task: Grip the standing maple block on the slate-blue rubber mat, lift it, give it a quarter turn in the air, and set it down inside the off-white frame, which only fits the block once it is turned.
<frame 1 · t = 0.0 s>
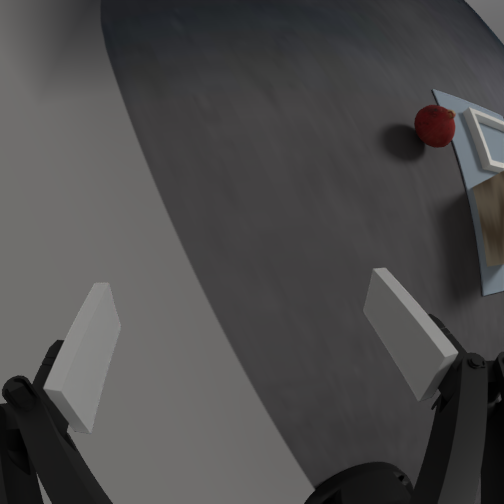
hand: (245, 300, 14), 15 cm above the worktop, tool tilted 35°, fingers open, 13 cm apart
frame: (496, 147, 38), resting on mat
block: (489, 226, 34), resting on mat
onion: (420, 139, 36), on the worktop
mat: (500, 186, 36), on the worktop
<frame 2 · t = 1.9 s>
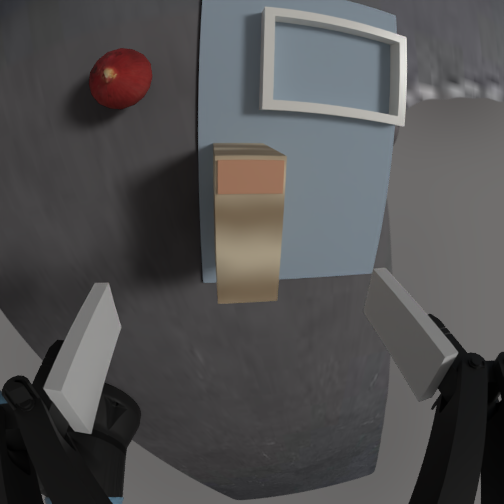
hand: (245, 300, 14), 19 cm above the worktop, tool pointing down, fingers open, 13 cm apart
frame: (334, 67, 27), resting on mat
block: (237, 199, 31), resting on mat
onion: (131, 82, 25), on the worktop
mat: (304, 135, 30), on the worktop
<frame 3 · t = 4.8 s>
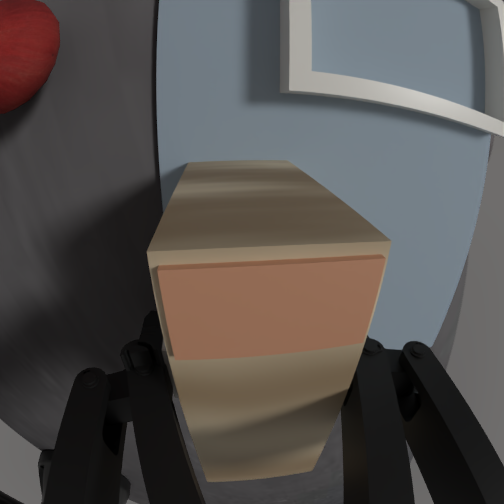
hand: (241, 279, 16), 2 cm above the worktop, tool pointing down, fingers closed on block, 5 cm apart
frame: (409, 28, 12), resting on mat
block: (239, 266, 17), resting on mat, touching gripper
onion: (42, 61, 11), on the worktop
mat: (364, 145, 15), on the worktop
when the fingers open (4 cm above the worktop, at t = 10.2 s): block drops 2 cm, resting on mat.
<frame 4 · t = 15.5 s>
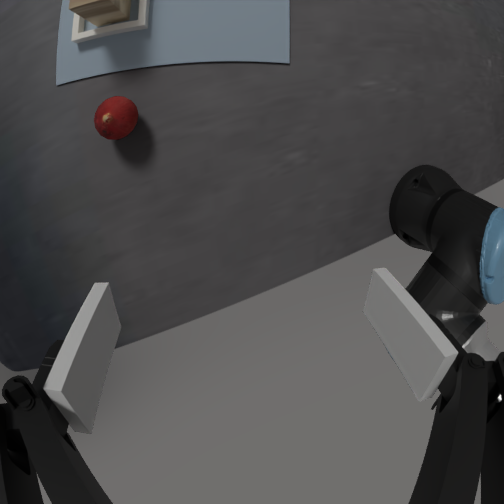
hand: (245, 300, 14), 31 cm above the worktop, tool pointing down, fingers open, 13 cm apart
onion: (124, 117, 36), on the worktop
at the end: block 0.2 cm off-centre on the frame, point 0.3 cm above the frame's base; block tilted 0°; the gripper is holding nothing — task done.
